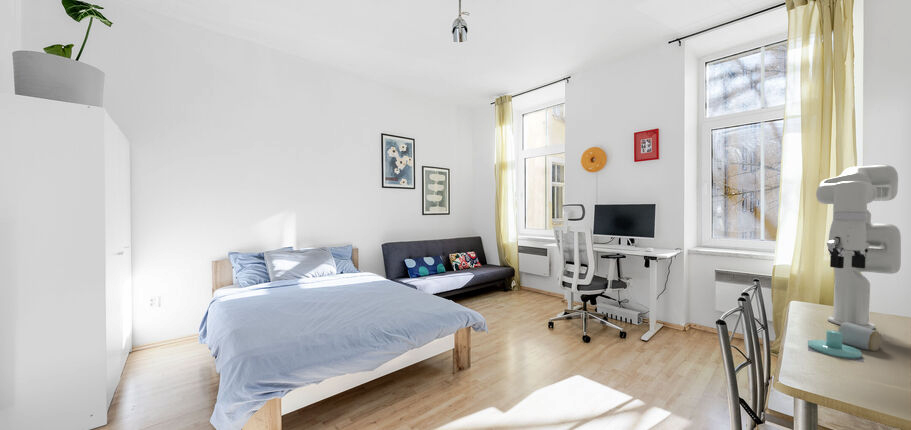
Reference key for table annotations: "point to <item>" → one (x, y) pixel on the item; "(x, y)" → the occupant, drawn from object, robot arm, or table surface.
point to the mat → (836, 356)
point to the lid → (834, 346)
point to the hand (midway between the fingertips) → (847, 267)
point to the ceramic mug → (860, 336)
